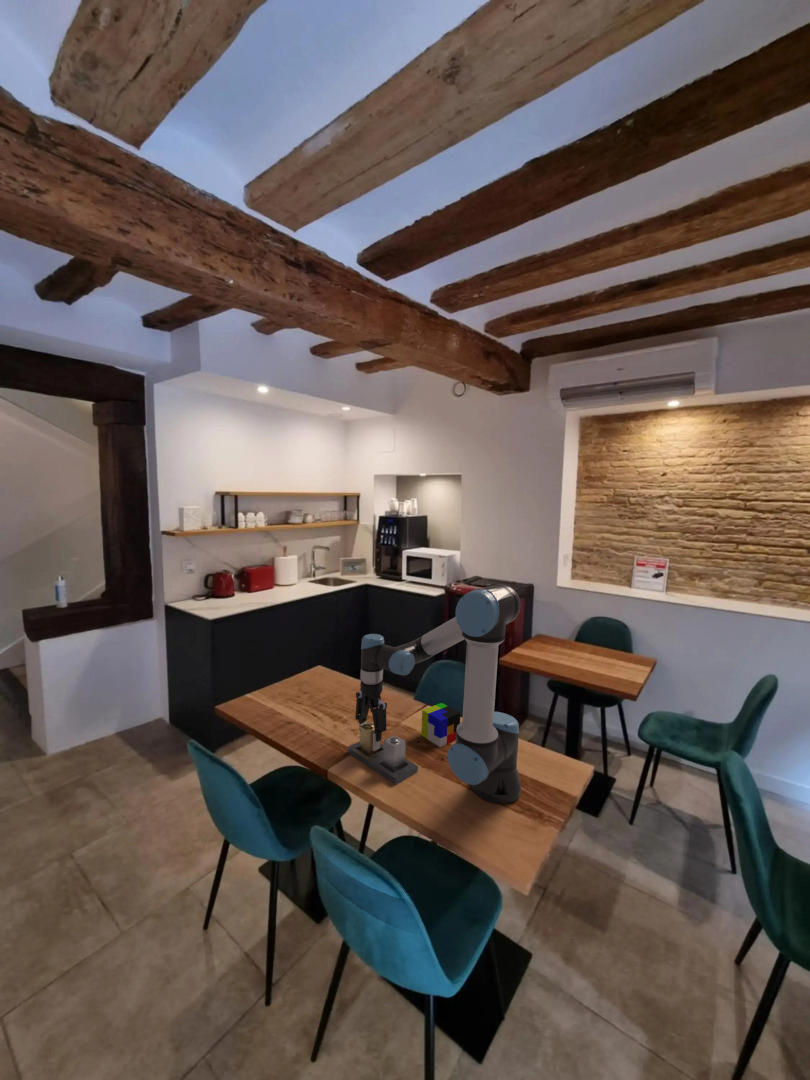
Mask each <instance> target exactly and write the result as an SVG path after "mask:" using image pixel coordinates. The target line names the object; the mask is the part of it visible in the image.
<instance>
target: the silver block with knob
mask: <svg viewBox="0 0 810 1080" xmlns="http://www.w3.org/2000/svg"><path fill="white" fill-rule="evenodd" d="M406 743H407V742H406V740H404V738H403V739H402V738H401V737H399V736H398V735H395V734H394V735H392V736H390V737H388V738H386V739H384V740H383V745H384V753H383V767H385V768H386V769H388V770H389V771H391V772H392V773H395V772H397V771H399V770H400V769H402V768H404V767H405V758H406V745H407V744H406Z"/></svg>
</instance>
